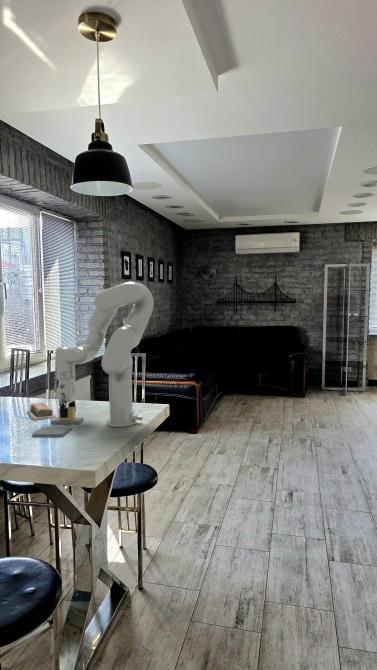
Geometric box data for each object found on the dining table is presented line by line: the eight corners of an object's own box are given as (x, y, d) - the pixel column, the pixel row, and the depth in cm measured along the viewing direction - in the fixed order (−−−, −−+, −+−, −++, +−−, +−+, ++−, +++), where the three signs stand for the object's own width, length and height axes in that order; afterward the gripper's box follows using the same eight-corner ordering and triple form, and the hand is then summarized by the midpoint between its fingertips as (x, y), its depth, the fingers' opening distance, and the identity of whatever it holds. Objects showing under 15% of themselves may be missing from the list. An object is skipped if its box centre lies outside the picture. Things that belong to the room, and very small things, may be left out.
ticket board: (71, 429, 177) (71, 426, 177) (62, 437, 167) (62, 433, 167) (42, 429, 178) (42, 426, 178) (32, 437, 168) (32, 433, 168)
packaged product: (26, 403, 208) (47, 401, 213) (26, 413, 209) (47, 410, 213) (33, 410, 193) (56, 408, 198) (33, 421, 193) (56, 418, 198)
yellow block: (83, 420, 192) (82, 406, 191) (78, 423, 186) (78, 409, 185) (56, 420, 193) (56, 406, 192) (51, 423, 187) (50, 409, 186)
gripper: (67, 378, 179) (69, 419, 180) (81, 372, 196) (83, 410, 197) (49, 378, 180) (52, 420, 181) (64, 372, 197) (67, 410, 198)
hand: (68, 414), depth 189 cm, fingers open, 9 cm apart
